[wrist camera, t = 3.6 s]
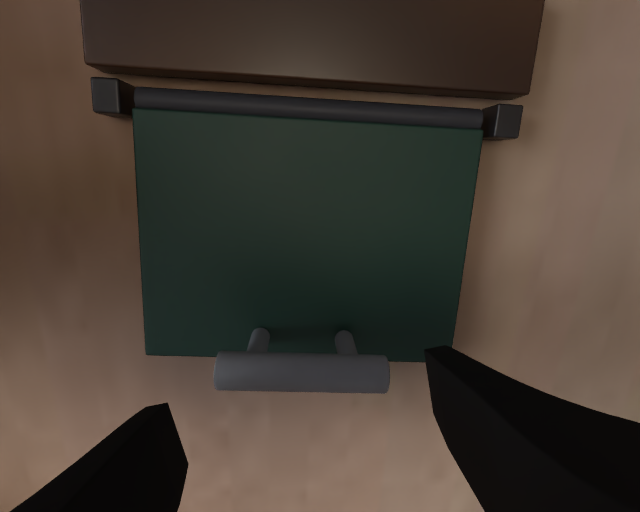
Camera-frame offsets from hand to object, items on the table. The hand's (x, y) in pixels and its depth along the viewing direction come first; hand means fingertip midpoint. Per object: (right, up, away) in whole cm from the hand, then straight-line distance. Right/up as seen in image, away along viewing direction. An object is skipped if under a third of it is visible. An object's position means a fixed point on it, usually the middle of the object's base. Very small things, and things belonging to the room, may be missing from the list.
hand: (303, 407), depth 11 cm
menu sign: (0, +5, +4) cm, 7 cm away
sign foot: (0, +11, +3) cm, 12 cm away
